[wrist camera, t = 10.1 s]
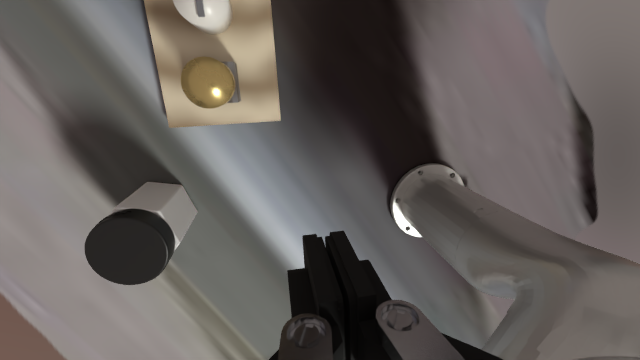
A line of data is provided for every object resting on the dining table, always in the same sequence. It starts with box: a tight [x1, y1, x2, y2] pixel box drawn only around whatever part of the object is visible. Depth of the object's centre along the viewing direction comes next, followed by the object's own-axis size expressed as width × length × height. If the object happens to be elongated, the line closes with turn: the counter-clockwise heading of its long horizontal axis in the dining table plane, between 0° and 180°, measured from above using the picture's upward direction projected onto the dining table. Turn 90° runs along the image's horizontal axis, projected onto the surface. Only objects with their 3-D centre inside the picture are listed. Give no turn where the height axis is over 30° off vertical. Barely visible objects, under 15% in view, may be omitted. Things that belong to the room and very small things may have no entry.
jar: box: [85, 182, 197, 285], centre depth 37 cm, size 9×8×12 cm
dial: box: [173, 0, 233, 35], centre depth 31 cm, size 5×5×6 cm
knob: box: [181, 56, 235, 109], centre depth 33 cm, size 5×5×8 cm
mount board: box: [144, 0, 281, 128], centre depth 34 cm, size 26×14×6 cm, turn 2°
